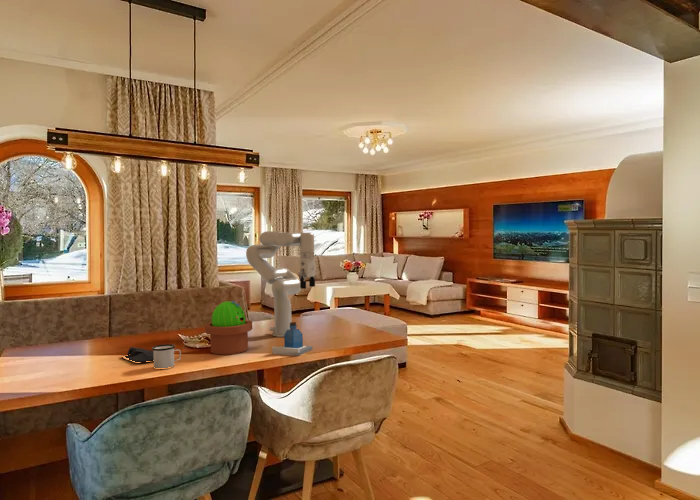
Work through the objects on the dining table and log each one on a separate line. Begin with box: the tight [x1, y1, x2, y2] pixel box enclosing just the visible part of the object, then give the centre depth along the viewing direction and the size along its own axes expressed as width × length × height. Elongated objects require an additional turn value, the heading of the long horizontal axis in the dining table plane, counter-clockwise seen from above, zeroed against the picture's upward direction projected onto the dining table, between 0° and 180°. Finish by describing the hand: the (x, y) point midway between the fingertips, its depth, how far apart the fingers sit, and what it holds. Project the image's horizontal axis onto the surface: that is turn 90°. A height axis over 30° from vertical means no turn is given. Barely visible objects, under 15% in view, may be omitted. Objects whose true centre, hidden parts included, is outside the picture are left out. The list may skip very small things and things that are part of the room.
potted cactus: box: [204, 300, 253, 356], centre depth 232 cm, size 22×22×25 cm
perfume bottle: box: [283, 321, 304, 348], centre depth 229 cm, size 6×6×12 cm
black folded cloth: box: [122, 346, 154, 362], centre depth 220 cm, size 15×22×5 cm
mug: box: [151, 343, 182, 368], centre depth 205 cm, size 12×10×9 cm
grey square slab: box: [271, 344, 313, 357], centre depth 228 cm, size 14×14×3 cm
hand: (307, 287), depth 253 cm, fingers open, 9 cm apart
